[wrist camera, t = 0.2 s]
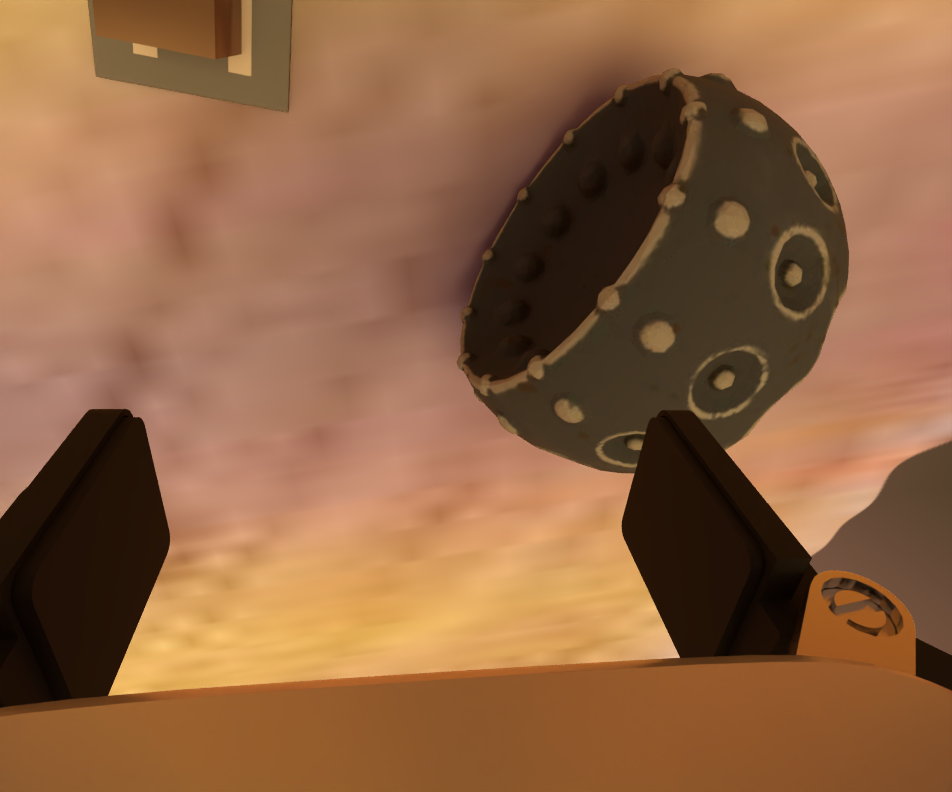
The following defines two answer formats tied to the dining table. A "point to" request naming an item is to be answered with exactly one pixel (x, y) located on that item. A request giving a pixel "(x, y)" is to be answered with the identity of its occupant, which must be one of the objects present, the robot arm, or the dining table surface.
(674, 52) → the dining table surface
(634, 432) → the dark green studded bowl
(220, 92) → the letter tile
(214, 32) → the walnut block
